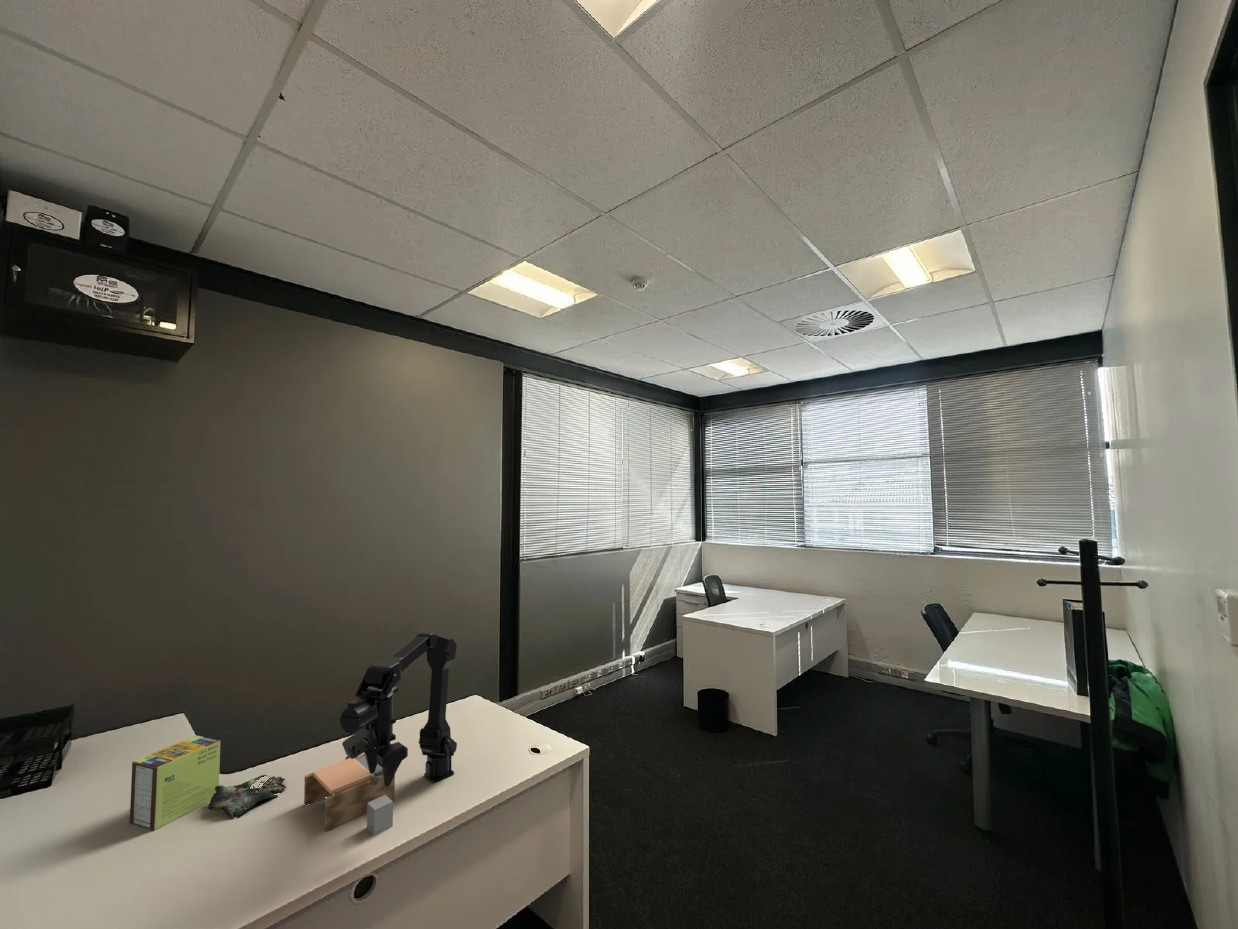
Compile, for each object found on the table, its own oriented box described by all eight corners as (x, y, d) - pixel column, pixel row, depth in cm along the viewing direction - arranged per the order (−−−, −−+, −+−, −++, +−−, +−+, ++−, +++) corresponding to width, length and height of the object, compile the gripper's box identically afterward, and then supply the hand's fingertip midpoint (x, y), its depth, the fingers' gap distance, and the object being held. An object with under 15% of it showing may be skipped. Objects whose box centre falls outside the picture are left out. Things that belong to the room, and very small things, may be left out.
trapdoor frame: (368, 777, 150) (368, 747, 151) (395, 801, 138) (395, 768, 139) (303, 803, 138) (304, 771, 138) (327, 832, 125) (327, 796, 126)
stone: (384, 819, 130) (385, 795, 131) (392, 826, 127) (392, 801, 128) (366, 827, 127) (367, 803, 127) (374, 835, 124) (374, 810, 124)
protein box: (219, 797, 142) (221, 739, 143) (153, 831, 127) (156, 767, 128) (194, 790, 145) (196, 734, 146) (127, 823, 130) (130, 761, 132)
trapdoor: (370, 766, 149) (370, 750, 149) (391, 783, 140) (391, 766, 140) (312, 789, 138) (312, 771, 138) (331, 809, 128) (331, 790, 128)
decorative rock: (254, 764, 152) (300, 762, 150) (254, 786, 151) (300, 784, 149) (195, 797, 133) (247, 795, 132) (194, 822, 132) (247, 820, 131)
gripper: (333, 716, 129) (331, 779, 128) (362, 738, 117) (360, 808, 116) (377, 702, 138) (376, 762, 137) (409, 722, 125) (408, 787, 124)
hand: (379, 779), depth 128 cm, fingers open, 9 cm apart
